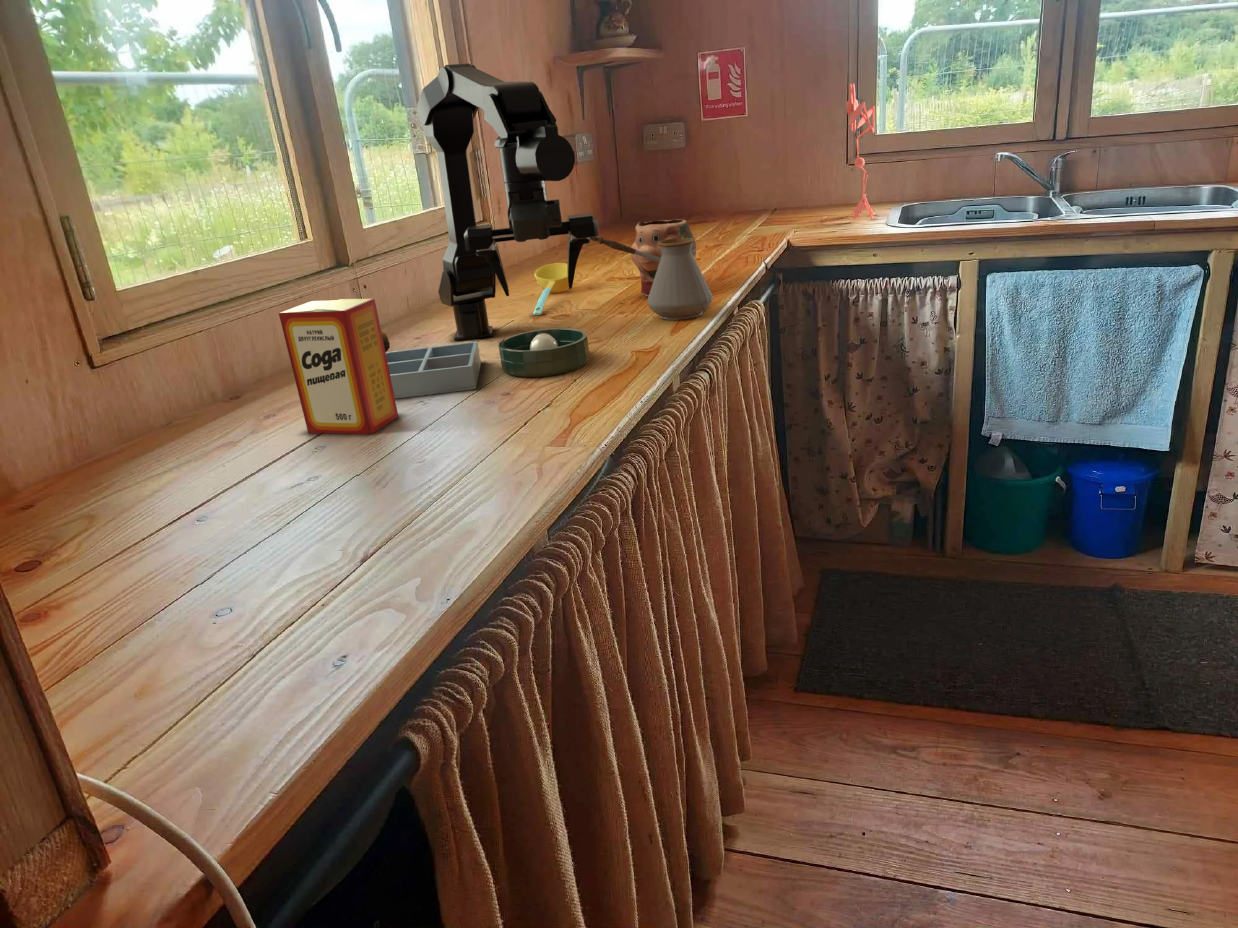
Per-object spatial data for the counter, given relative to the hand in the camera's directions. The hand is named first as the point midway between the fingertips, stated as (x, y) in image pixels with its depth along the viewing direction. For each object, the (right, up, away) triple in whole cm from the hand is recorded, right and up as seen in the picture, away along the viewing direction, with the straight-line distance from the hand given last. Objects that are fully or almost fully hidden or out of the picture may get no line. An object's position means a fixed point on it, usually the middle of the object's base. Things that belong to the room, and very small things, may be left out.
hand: (539, 292), depth 128 cm
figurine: (+76, +43, +117) cm, 146 cm away
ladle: (-2, +8, +50) cm, 50 cm away
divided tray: (-16, -13, +2) cm, 21 cm away
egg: (+1, -10, +4) cm, 11 cm away
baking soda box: (-23, -20, -14) cm, 33 cm away
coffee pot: (+18, +1, +27) cm, 33 cm away
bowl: (+1, -10, +4) cm, 11 cm away
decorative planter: (+22, +9, +46) cm, 52 cm away
